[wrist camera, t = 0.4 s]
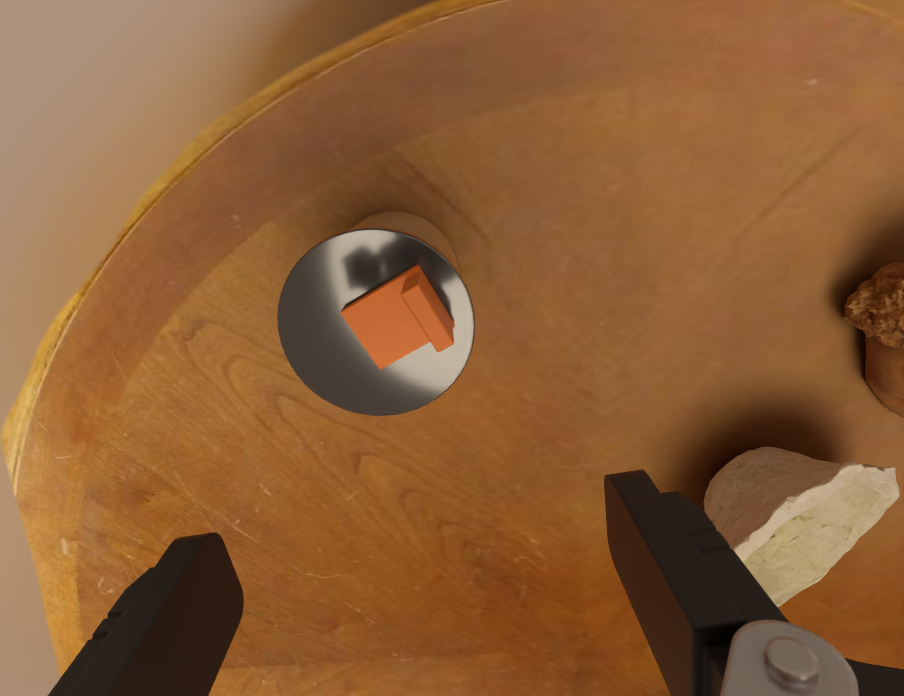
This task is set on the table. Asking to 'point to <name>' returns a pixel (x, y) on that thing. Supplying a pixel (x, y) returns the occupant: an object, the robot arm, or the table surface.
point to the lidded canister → (348, 279)
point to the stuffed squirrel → (882, 332)
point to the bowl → (795, 513)
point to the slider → (400, 318)
